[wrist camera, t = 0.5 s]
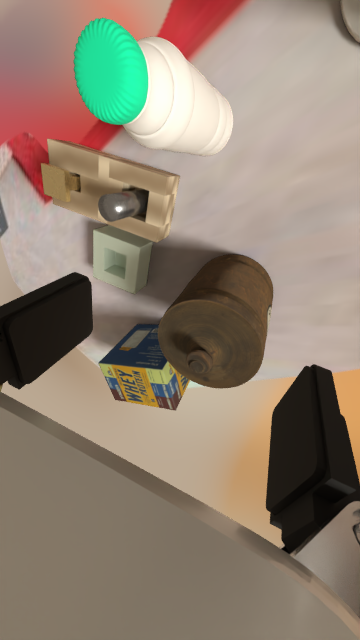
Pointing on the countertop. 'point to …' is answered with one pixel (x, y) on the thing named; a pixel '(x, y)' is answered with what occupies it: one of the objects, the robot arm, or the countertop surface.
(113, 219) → the silver cylinder
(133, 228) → the socket block
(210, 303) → the wooden container
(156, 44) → the water bottle
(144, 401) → the protein box
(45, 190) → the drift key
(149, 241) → the pale green square block
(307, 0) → the countertop surface
